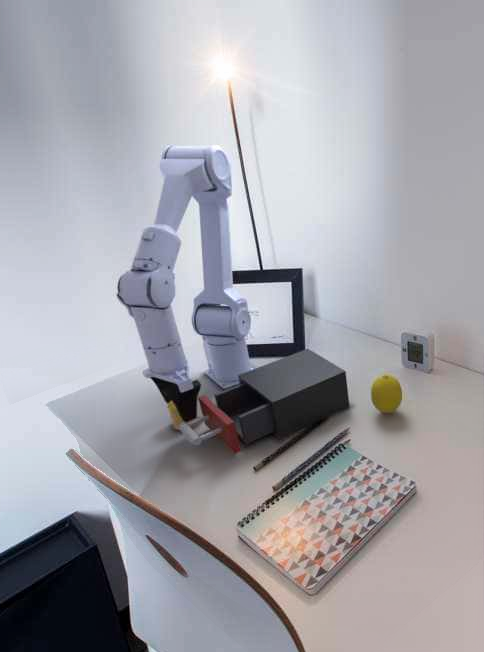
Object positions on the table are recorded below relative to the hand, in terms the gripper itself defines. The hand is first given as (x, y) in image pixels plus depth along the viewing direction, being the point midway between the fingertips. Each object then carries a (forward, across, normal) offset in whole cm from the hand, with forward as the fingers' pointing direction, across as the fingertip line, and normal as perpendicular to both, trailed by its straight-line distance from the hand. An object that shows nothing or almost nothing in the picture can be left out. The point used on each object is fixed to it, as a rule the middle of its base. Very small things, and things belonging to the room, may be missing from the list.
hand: (181, 410), depth 93 cm
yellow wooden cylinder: (+3, 0, 0) cm, 3 cm away
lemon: (+3, +23, +28) cm, 36 cm away
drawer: (+2, +10, +6) cm, 12 cm away
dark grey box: (+3, +10, +17) cm, 20 cm away
